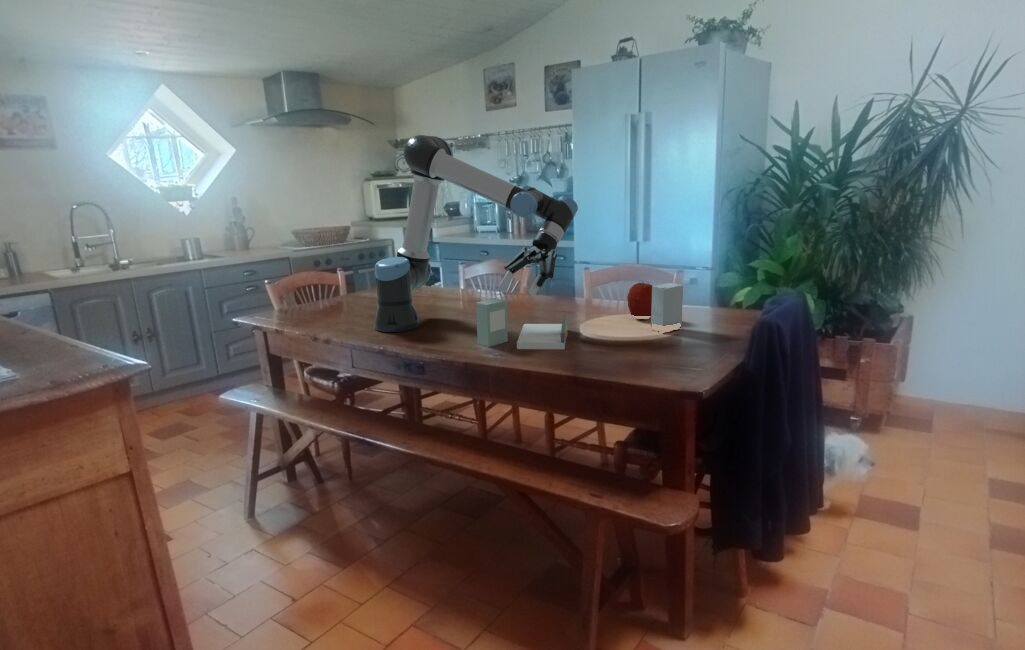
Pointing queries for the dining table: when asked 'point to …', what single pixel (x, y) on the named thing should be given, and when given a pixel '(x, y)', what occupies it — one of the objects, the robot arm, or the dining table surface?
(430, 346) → the dining table surface
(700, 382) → the dining table surface
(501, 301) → the product carton
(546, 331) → the shelf board
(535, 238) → the robot arm
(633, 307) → the apple
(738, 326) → the dining table surface
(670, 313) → the skincare box
